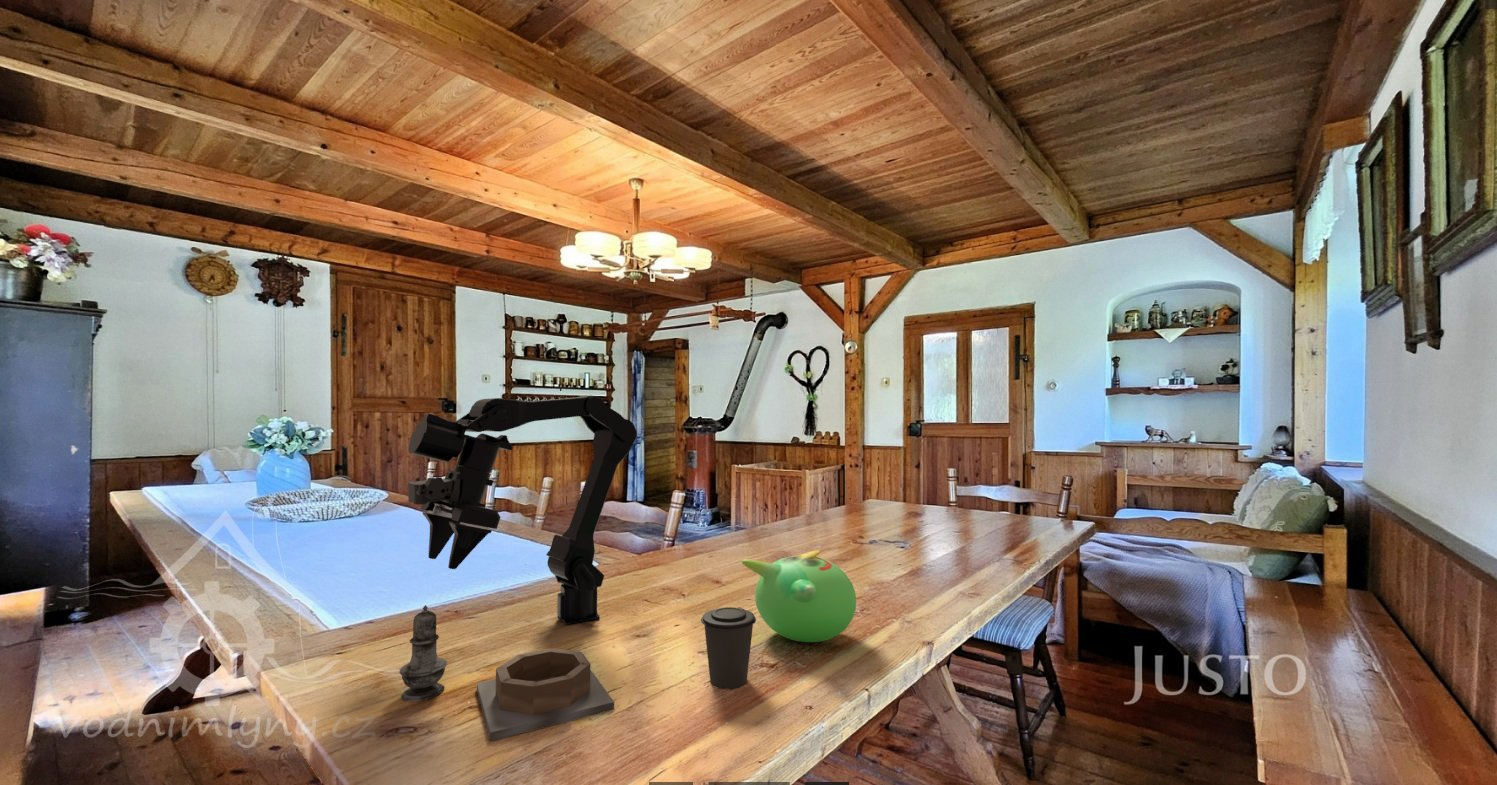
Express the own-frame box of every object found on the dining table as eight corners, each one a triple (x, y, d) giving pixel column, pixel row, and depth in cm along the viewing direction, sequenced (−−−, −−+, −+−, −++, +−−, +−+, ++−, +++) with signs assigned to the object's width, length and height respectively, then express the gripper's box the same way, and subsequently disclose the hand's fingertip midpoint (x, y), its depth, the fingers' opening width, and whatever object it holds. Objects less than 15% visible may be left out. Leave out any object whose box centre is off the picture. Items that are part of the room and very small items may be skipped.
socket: (584, 667, 90) (584, 637, 90) (614, 709, 77) (614, 674, 78) (476, 690, 83) (477, 657, 83) (490, 741, 70) (491, 702, 70)
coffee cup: (763, 673, 88) (763, 605, 89) (745, 697, 81) (745, 623, 81) (713, 665, 91) (713, 600, 91) (691, 688, 83) (691, 616, 84)
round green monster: (873, 638, 102) (873, 553, 103) (815, 668, 90) (815, 571, 91) (792, 614, 115) (792, 538, 115) (731, 638, 102) (732, 552, 103)
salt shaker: (426, 704, 79) (428, 613, 79) (388, 700, 80) (390, 610, 80) (456, 685, 84) (458, 600, 85) (420, 681, 86) (422, 597, 86)
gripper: (406, 454, 101) (371, 546, 97) (445, 460, 88) (407, 567, 84) (470, 470, 108) (440, 556, 104) (514, 478, 95) (482, 577, 91)
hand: (441, 563), depth 96 cm, fingers open, 9 cm apart
